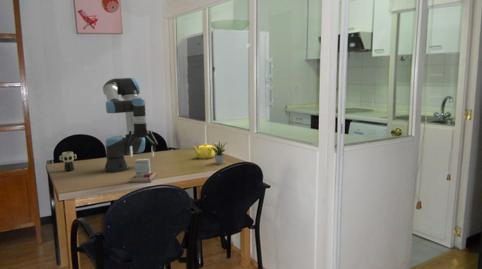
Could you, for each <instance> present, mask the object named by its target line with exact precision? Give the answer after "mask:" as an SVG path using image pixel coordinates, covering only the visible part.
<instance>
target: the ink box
mask: <svg viewBox="0 0 482 269" xmlns="http://www.w3.org/2000/svg"><path fill="white" fill-rule="evenodd" d="M134 170H135V175H136V178H149V177H150V176H151V173H152V171H151V170H152V169H151V160H150V158H136V159H135V160H134Z"/></svg>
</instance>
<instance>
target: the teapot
mask: <svg viewBox="0 0 482 269" xmlns="http://www.w3.org/2000/svg"><path fill="white" fill-rule="evenodd" d="M214 144H216V145H218V142H214ZM214 144H213V145H212V144H211V145H210V144H208V143H203V144H202V145H199V146H198V147H197V146H192V147H193V148H194V152H195V155H196V157H197V159H199V160H200V159H201V160H207V159H213V158H215V154H216V152H215V151H214V150H213V149H211V148H210V147H212V148H214V149H216V150H217V148H216V146H215V145H214ZM211 150H212V151H211Z"/></svg>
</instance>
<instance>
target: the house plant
mask: <svg viewBox="0 0 482 269" xmlns="http://www.w3.org/2000/svg"><path fill="white" fill-rule="evenodd" d="M228 143H229V142H228V141H227V142H225V143H224V142H222V143H221V142H220V141H218V144H215V142H214V143H213V142H212V144H213V146H214V145H215V146H216V149H214V148H212V147H213V146H212V147H210V148H211V149H213V150H214V151H215V156H214V160H215V164H217V165H220V164H224V160H225V158H224V157H225V154H224V153H223V152H225V151H226V150H228V149H226V148H225V146H226V145H227V144H228ZM211 151H212V150H211Z"/></svg>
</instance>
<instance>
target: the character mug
mask: <svg viewBox="0 0 482 269" xmlns="http://www.w3.org/2000/svg"><path fill="white" fill-rule="evenodd" d="M76 159H78V158H77V154H76V153H75V154H74V152H73V151H64V152H62V153H61V155H60V156H59V161H63V162H64V171H65V170H69V171H70V170H71V171H73V170H75V166H74V163H73V162H74V160H76Z"/></svg>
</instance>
